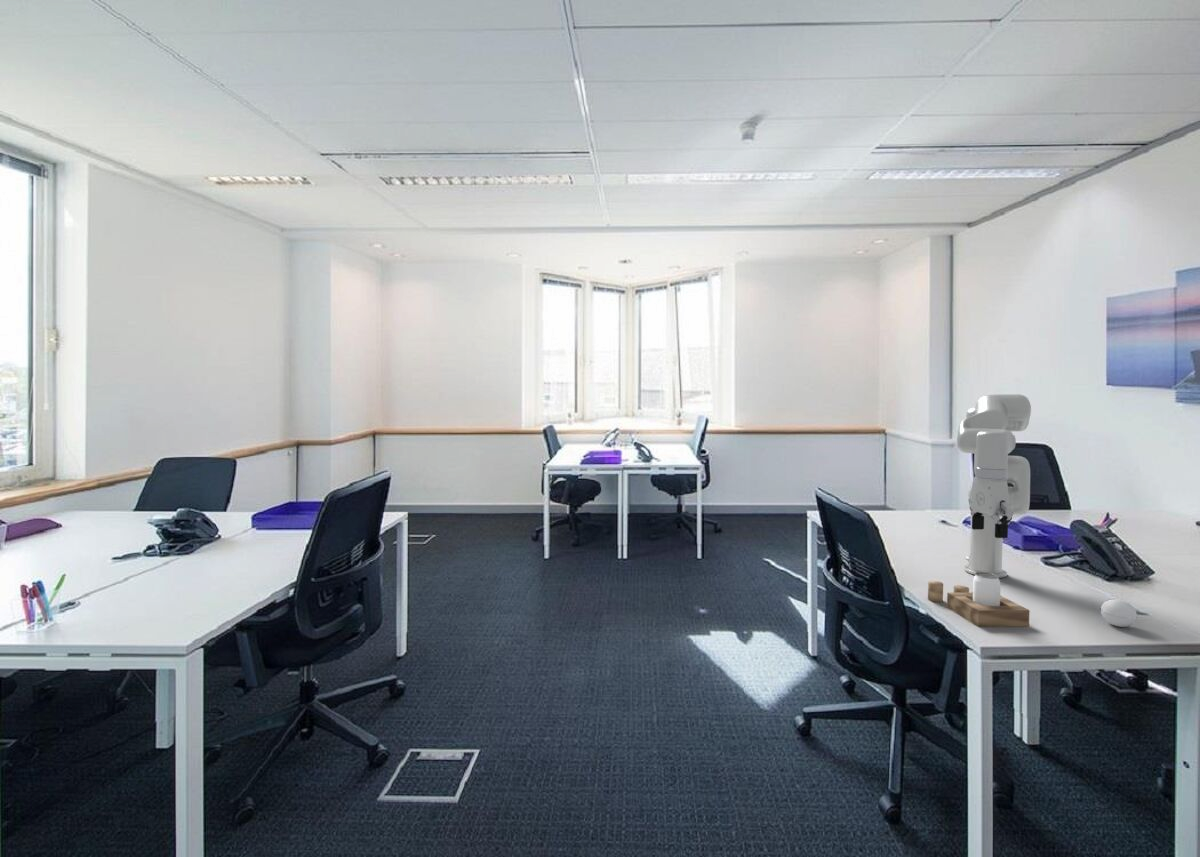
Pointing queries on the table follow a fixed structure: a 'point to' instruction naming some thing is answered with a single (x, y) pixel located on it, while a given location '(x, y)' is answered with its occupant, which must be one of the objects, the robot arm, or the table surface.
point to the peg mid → (935, 591)
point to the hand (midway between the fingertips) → (989, 533)
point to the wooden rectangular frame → (988, 611)
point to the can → (986, 589)
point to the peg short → (961, 589)
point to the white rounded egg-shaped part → (1118, 612)
